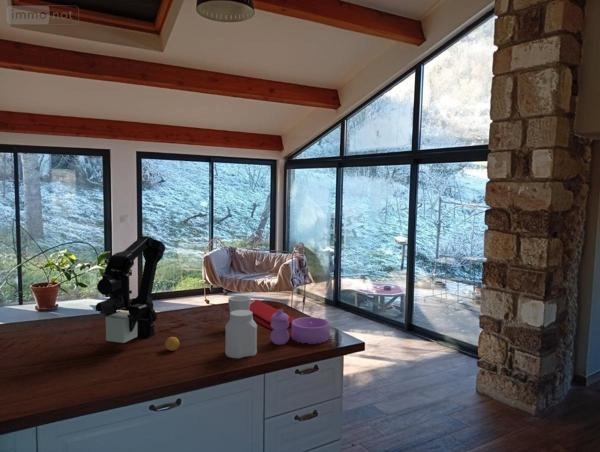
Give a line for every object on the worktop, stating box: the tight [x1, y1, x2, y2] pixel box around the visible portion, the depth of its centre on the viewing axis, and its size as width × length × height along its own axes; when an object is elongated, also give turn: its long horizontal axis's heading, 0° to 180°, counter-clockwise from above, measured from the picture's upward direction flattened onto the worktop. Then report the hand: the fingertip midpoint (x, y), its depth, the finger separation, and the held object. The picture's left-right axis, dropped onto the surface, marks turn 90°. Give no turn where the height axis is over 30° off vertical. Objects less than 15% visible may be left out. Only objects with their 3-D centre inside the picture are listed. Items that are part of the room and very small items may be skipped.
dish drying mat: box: [249, 299, 297, 331], centre depth 214 cm, size 16×41×4 cm, turn 33°
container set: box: [269, 308, 330, 346], centre depth 182 cm, size 25×15×13 cm, turn 118°
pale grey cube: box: [105, 311, 138, 344], centre depth 168 cm, size 8×8×9 cm
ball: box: [164, 336, 180, 352], centre depth 168 cm, size 5×5×5 cm
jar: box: [224, 310, 258, 359], centre depth 166 cm, size 12×10×15 cm
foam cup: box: [227, 295, 252, 313], centre depth 195 cm, size 10×9×13 cm
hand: (121, 330), depth 168 cm, fingers closed on pale grey cube, 8 cm apart
